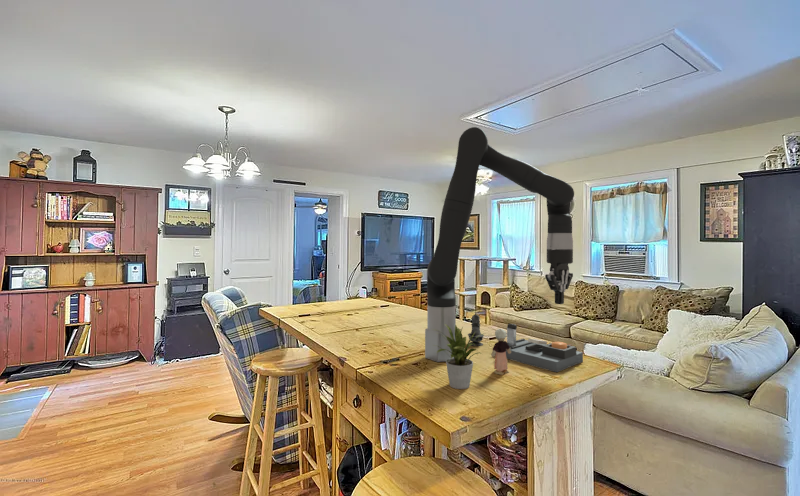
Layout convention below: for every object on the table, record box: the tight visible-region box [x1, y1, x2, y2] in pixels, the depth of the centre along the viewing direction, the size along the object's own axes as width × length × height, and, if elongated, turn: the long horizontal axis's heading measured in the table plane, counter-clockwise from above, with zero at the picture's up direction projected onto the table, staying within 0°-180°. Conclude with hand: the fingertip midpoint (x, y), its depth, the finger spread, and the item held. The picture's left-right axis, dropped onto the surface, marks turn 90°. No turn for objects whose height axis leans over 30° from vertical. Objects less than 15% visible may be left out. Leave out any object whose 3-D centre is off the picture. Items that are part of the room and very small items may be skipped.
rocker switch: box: [527, 338, 548, 345], centre depth 122 cm, size 5×4×1 cm
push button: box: [551, 341, 568, 349], centre depth 116 cm, size 4×4×3 cm
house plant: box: [432, 324, 486, 390], centre depth 99 cm, size 14×14×16 cm
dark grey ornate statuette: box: [467, 312, 485, 347], centre depth 140 cm, size 6×6×12 cm
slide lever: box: [506, 323, 518, 346], centre depth 126 cm, size 2×3×7 cm, turn 39°
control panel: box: [495, 338, 584, 373], centre depth 122 cm, size 16×22×6 cm
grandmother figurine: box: [490, 328, 511, 376], centre depth 108 cm, size 8×4×13 cm, turn 135°
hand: (559, 303), depth 116 cm, fingers closed
